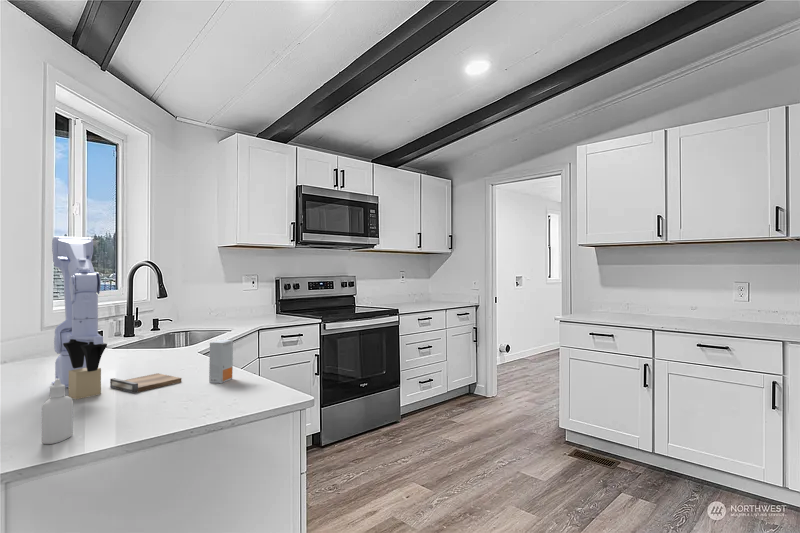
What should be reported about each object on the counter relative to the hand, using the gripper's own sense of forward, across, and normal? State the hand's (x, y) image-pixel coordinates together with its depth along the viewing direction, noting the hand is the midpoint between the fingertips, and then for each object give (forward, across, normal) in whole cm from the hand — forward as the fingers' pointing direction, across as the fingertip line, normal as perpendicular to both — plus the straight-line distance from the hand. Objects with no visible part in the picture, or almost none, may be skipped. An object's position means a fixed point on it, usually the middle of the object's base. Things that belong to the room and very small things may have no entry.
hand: (85, 369), depth 123 cm
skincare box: (+7, +18, +29) cm, 35 cm away
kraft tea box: (+7, 0, 0) cm, 7 cm away
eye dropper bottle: (+7, +30, -19) cm, 36 cm away
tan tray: (+7, +3, +15) cm, 17 cm away
